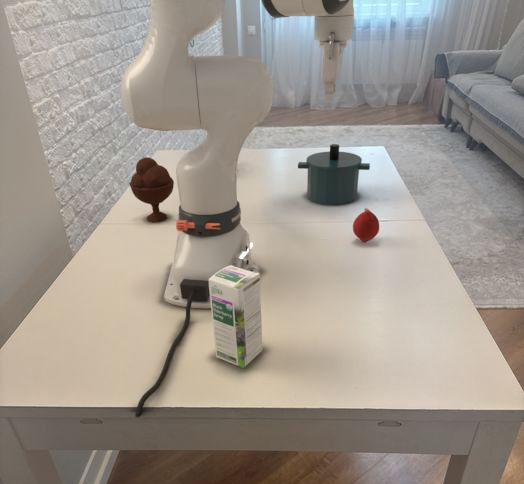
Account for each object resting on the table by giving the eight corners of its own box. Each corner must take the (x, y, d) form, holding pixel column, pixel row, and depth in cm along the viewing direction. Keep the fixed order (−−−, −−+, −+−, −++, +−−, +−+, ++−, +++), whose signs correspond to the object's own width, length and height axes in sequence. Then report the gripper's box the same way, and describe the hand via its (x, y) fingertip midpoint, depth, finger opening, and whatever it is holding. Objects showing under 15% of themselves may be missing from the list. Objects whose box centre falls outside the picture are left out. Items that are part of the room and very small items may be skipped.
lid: (361, 172, 124) (362, 153, 121) (303, 171, 126) (304, 152, 124) (361, 156, 136) (363, 138, 133) (308, 155, 138) (309, 137, 135)
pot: (366, 206, 130) (370, 170, 124) (295, 204, 133) (295, 168, 127) (366, 189, 140) (369, 154, 135) (300, 187, 143) (300, 153, 137)
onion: (376, 237, 114) (380, 203, 110) (378, 247, 110) (382, 213, 105) (351, 236, 115) (353, 203, 110) (352, 247, 110) (355, 213, 106)
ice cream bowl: (128, 225, 125) (116, 164, 115) (149, 209, 133) (139, 151, 124) (166, 229, 122) (156, 167, 113) (184, 212, 130) (177, 153, 121)
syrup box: (214, 357, 80) (205, 278, 71) (236, 339, 83) (230, 262, 75) (243, 369, 77) (237, 289, 68) (264, 350, 81) (261, 271, 72)
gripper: (346, 35, 104) (341, 106, 112) (348, 25, 120) (344, 89, 128) (316, 35, 105) (313, 106, 113) (322, 26, 120) (320, 89, 129)
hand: (330, 97), depth 121 cm, fingers open, 8 cm apart
